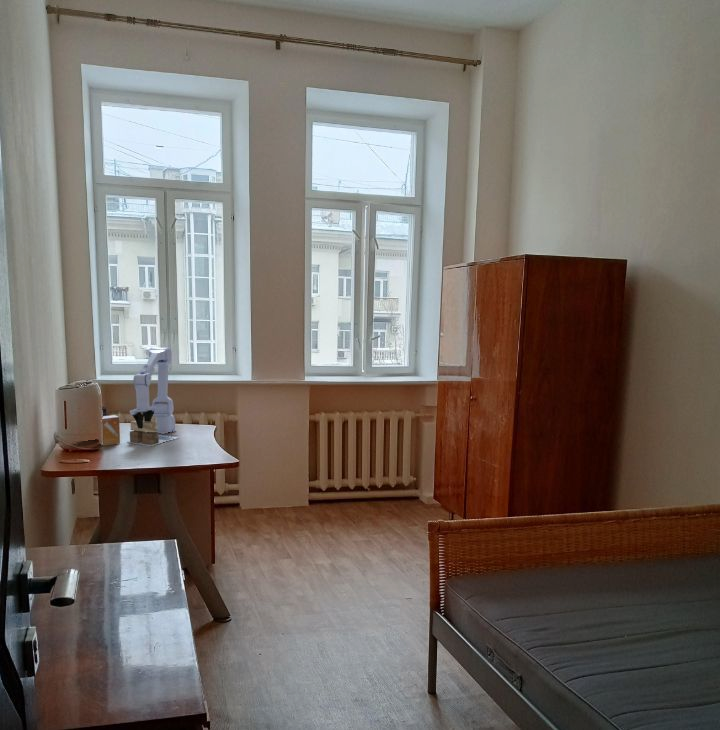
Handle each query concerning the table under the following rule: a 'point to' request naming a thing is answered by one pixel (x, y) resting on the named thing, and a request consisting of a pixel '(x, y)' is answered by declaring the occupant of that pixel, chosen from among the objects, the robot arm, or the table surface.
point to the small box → (111, 430)
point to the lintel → (145, 426)
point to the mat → (161, 440)
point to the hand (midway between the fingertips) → (143, 427)
